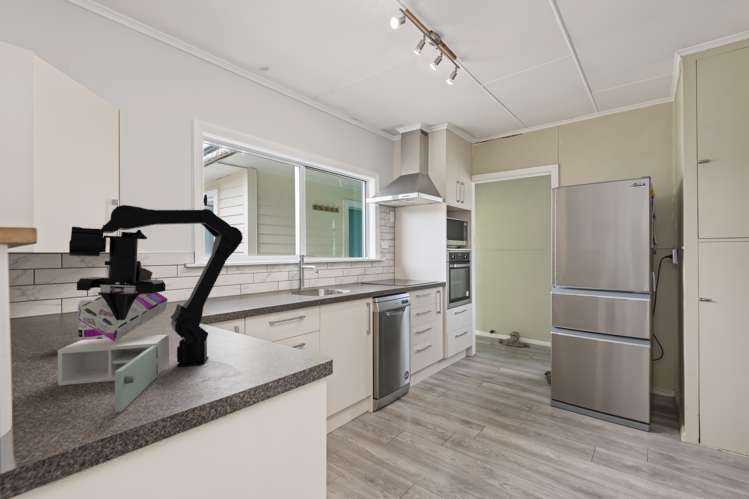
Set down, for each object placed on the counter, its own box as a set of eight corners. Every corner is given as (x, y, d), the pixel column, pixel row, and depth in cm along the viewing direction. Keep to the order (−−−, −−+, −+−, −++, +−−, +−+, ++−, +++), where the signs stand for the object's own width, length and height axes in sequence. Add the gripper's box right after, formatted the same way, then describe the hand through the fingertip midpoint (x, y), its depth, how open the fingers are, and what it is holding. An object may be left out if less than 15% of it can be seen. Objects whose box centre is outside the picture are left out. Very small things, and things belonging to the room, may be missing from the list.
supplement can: (115, 340, 126) (114, 297, 126) (94, 346, 117) (94, 300, 118) (93, 340, 126) (93, 297, 127) (71, 346, 118) (71, 300, 118)
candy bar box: (133, 293, 105) (77, 320, 90) (136, 279, 103) (79, 304, 88) (165, 312, 104) (113, 342, 89) (169, 298, 102) (116, 327, 87)
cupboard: (169, 364, 97) (168, 334, 97) (156, 376, 87) (156, 343, 87) (81, 371, 92) (81, 340, 92) (58, 385, 82) (57, 350, 82)
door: (153, 376, 87) (152, 345, 87) (163, 375, 87) (163, 344, 87) (114, 412, 67) (114, 371, 67) (128, 411, 67) (128, 370, 67)
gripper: (179, 257, 97) (176, 315, 97) (111, 254, 98) (108, 312, 98) (152, 259, 86) (149, 324, 86) (75, 255, 87) (73, 320, 87)
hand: (120, 320), depth 90 cm, fingers closed
